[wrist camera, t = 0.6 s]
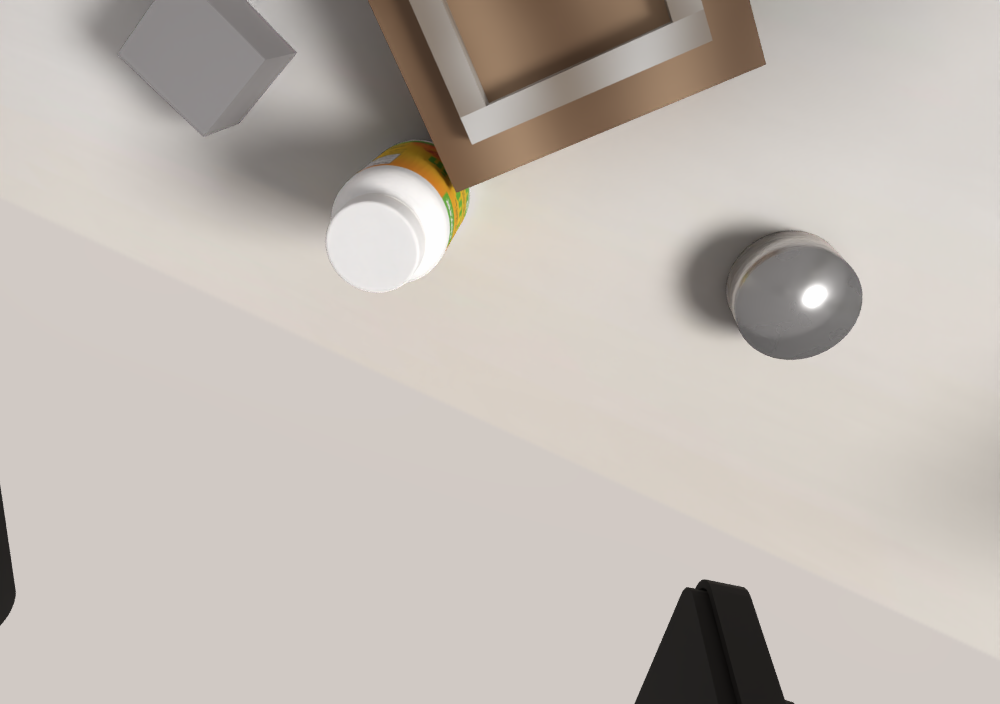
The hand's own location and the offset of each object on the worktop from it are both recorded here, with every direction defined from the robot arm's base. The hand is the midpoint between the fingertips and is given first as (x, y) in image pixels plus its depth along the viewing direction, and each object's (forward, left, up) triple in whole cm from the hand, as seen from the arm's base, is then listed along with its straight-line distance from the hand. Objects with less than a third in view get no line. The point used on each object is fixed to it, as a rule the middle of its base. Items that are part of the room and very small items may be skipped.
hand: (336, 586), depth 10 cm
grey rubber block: (+12, -10, -30) cm, 34 cm away
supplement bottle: (+6, 0, -30) cm, 31 cm away
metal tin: (-10, +12, -30) cm, 34 cm away
